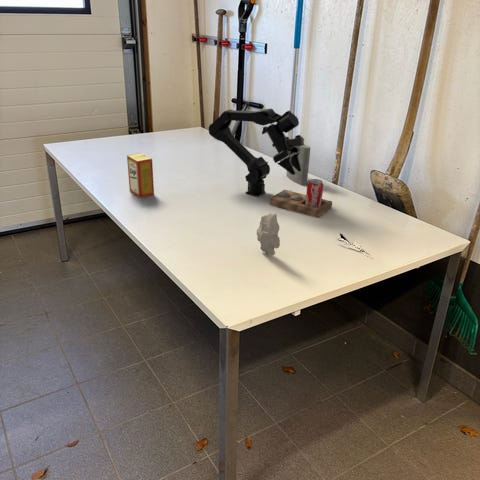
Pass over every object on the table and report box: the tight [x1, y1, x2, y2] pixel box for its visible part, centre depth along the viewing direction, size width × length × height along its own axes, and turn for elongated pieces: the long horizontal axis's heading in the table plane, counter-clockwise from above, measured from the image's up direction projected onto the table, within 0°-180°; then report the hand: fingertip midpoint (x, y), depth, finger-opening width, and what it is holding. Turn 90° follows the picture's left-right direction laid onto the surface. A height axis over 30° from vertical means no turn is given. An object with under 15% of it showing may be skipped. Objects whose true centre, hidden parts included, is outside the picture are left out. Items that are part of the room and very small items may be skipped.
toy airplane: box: [339, 232, 370, 255], centre depth 165 cm, size 8×21×2 cm, turn 29°
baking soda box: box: [126, 153, 155, 198], centre depth 201 cm, size 10×6×16 cm
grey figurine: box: [256, 212, 281, 256], centre depth 155 cm, size 11×4×15 cm, turn 38°
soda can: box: [305, 178, 324, 208], centre depth 191 cm, size 6×6×12 cm
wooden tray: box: [269, 189, 333, 219], centre depth 195 cm, size 22×12×3 cm, turn 57°
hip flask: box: [285, 144, 311, 187], centre depth 220 cm, size 16×4×20 cm, turn 24°
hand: (297, 172), depth 192 cm, fingers open, 9 cm apart
